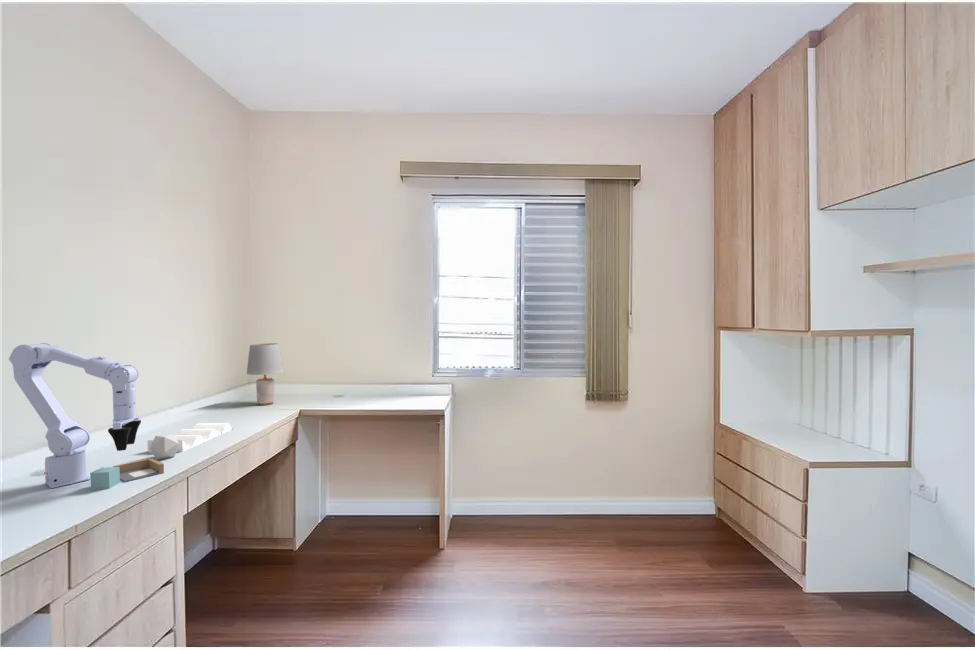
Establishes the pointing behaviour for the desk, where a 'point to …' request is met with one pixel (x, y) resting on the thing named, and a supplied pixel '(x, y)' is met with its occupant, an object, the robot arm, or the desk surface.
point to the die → (164, 446)
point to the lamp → (264, 369)
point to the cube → (105, 478)
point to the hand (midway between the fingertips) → (125, 447)
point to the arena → (140, 469)
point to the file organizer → (197, 435)
